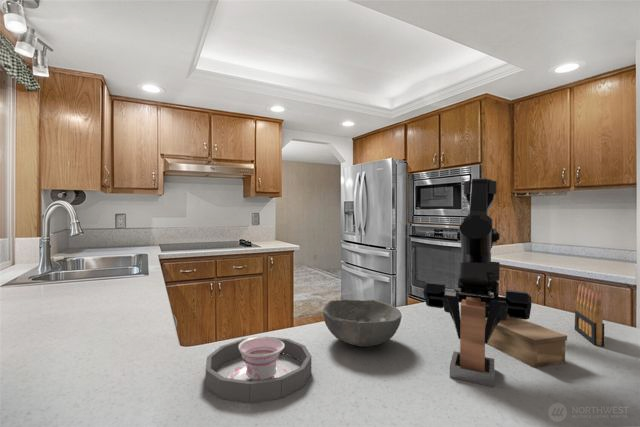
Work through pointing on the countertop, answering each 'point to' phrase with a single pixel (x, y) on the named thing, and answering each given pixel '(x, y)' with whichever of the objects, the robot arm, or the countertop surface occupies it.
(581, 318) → the ammunition clip
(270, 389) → the coaster ring
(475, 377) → the frame
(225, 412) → the countertop surface
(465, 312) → the reddish brown rectangular block
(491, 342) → the light brown wooden box
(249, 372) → the teacup
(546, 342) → the lid
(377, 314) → the bowl
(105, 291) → the countertop surface
